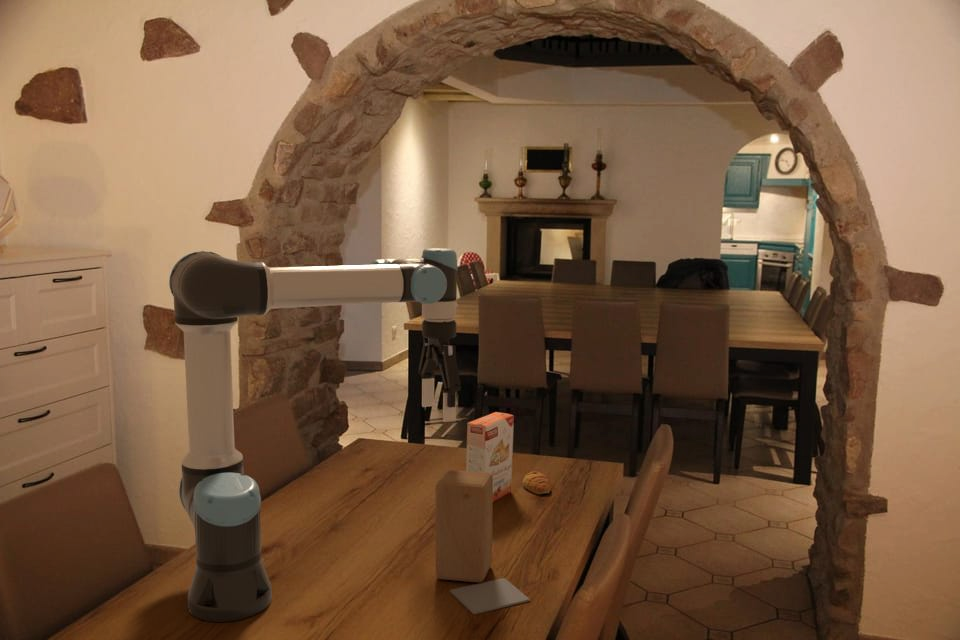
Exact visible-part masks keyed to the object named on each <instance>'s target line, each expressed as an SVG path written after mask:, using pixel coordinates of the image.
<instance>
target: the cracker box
mask: <svg viewBox="0 0 960 640" xmlns="http://www.w3.org/2000/svg"><path fill="white" fill-rule="evenodd" d="M514 420H515V415H513V414H510V413H504V412H498V411H495V412H492V413H489V414H487V415H485V416H481V417H479V418H477V419H474V420H471V421H469V422H467V423H466V425H467V427H466V429H467V430H466V459H465V460H466V461H465V462H466V463H465V464H466V465H465V466H466V467H465V471H471V472H486V473H490V474H491V475H492V477H493V503H494V502H496V501H497V500H500V499H501V498H503V497H504V496H506V495H508V494H510V493H512V481H513V480H512V477H513V449H514V446H513V445H514Z"/></svg>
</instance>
